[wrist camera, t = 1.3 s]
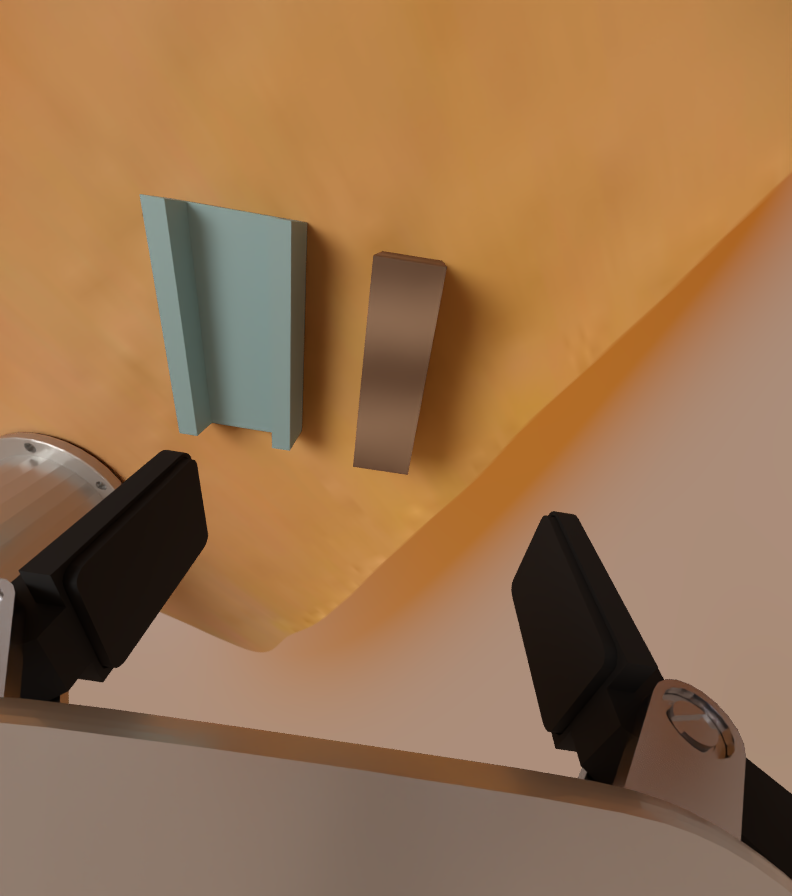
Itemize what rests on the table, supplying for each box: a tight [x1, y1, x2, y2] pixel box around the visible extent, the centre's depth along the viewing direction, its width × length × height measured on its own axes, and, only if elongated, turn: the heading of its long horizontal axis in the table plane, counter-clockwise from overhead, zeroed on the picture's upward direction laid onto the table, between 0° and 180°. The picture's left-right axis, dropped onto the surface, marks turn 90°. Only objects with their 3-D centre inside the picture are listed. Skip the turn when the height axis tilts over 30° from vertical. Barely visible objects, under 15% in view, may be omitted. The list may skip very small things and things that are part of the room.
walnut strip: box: [353, 251, 447, 475], centre depth 23 cm, size 12×4×5 cm, turn 172°
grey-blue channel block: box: [140, 194, 307, 451], centre depth 23 cm, size 14×8×3 cm, turn 171°
